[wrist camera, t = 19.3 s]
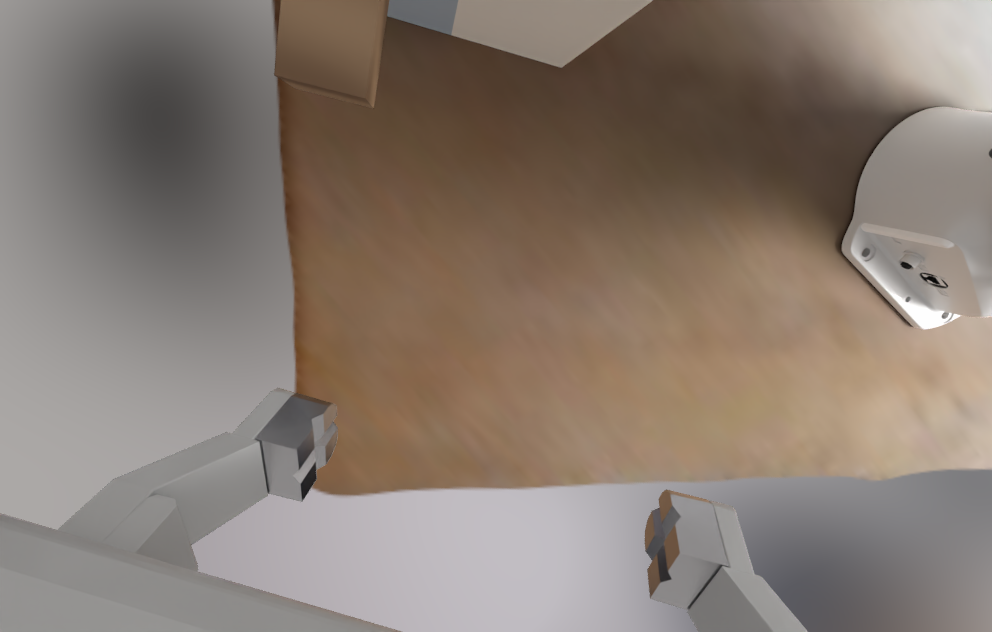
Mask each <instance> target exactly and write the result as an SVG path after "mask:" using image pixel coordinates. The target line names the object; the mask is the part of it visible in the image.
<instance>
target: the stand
mask: <svg viewBox="0 0 992 632" xmlns="http://www.w3.org/2000/svg"><path fill="white" fill-rule="evenodd" d="M651 1H653V0H389V6H388V13H387V16H388V17H391V18H395V19H398V20H402V21H405V22H408V23H412V24H415V25H418V26H422V27H425V28H429V29H432V30H435V31H439V32H442V33H445V34H449V35H452V36H456V37H459V38H462V39H466V40H469V41H472V42H476V43H479V44H483V45H486V46H489V47H493V48H496V49H499V50H503V51H506V52H510V53H513V54H516V55H520V56H523V57H526V58H530V59H533V60H536V61H540V62H543V63H547V64H550V65H553V66H557V67H560V68H562V67H563V66H565V65H566V64H567V63H569V62H570V61H572V60H573V59H574V58H576V57H577V56H578V55H580V54H581V53H582V52H584V51H585V50H586V49H588V48H589V47H591V46H592V45H593V44H595V43H596V42H597V41H599V40H600V39H601V38H603V37H604V36H605V35H607V34H608V33H609V32H611V31H612V30H614V29H615V28H616V27H618V26H619V25H620V24H622V23H623V22H624V21H626V20H627V19H628V18H630V17H631V16H633V15H634V14H635V13H637V12H638V11H639V10H641V9H642V8H643V7H645V6H646V5H647V4H649V3H650V2H651Z"/></svg>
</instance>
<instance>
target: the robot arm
mask: <svg viewBox="0 0 992 632" xmlns="http://www.w3.org/2000/svg"><path fill="white" fill-rule="evenodd" d="M842 252H843V254H844V255H845V256H846V257H847V259H848V260H849V261H850V262H851V263H852V264H853V265H854V266H855V267H856V268H857V269H858V270H859V271H860V272H861V273H862V274H863V275H864V276H865V277H866V278H867V279H868V280H869V281H870V283H871V284H872V285H873V286H874V287H875V288H876V289H877V290H878V291H879V292H880V293H881V294H882V295H883V296H884V297H885V298H886V299H887V300H888V301H889V302H890V303H891V304H892V306H893V307H894V308H895V309H896V310H897V311H898V312H899V313H900V314H901V315H902V316H903V317H904V318H905V319H906V320H907V321H908V322H909V323H910V324H911V325H912V326H913V327H915V328H919V329H931V328H935V327H938V326H941V325H944V324H946V323H948V322H950V321H952V320H954V319H956V318H958V317H960V316H961V315H962V316H967V317H975V318H985V317H992V112H982V111H972V110H965V109H959V108H954V107H934V108H929V109H925V110H923V111H920V112H918V113H915V114H913V115H912V116H910V117H908V118H906V119H905V120H903V121H902V122H901V123H899V124H898V125H897V126H896V127H894V128H893V129H892V130H891V131H890V132H889V133H888V134H887V135H886V136H885V137H884V138H883V140H882V141H881V142H880V143H879V145H878V146H877V147H876V149H875V150H874V152H873V153H872V155H871V156H870V158H869V160H868V162H867V164H866V166H865V168H864V170H863V173H862V175H861V178H860V181H859V185H858V189H857V194H856V201H855V209H854V215H853V219H852V221H851V223H850V225H849V228H848V230H847V232H846V234H845V236H844V239H843V242H842ZM862 252H863V253H862ZM336 416H337V405H335V404H333V403H330V402H326V401H323V400H319V399H316V398H313V397H309V396H306V395H302V394H299V393H294V392H291V391H287V390H284V389H280V388H277V389H275V390H273V391H271V392H270V393H269V394H268V395H267V396H266V397H265V398H264V400H263V401H262V402H261V403H260V404H259V405H258V406H257V407H256V408H255V409H254V410H253V411H252V412H251V414H250V415H249V416H248V417H247V418H246V419H245V420H244V421H243V422H242V423H241V424H240V425H239V426H238V428H237V429H236V430H235V431H234V432H233V433H228V432H225V433H223V434H221V435H218V436H216V437H213V438H211V439H209V440H207V441H204V442H201V443H199V444H197V445H194V446H192V447H189V448H187V449H185V450H182V451H180V452H177V453H175V454H173V455H171V456H168V457H165V458H163V459H161V460H158V461H156V462H153V463H151V464H149V465H146V466H144V467H141V468H140V469H137V470H135V471H132V472H129V473H127V474H125V475H122V476H120V477H117V478H115V479H113V480H112V481H111V482H110V483H108V484H107V485H106V486H105V487H104V488H103V489H102V490H101V491H100V492H98V493H97V495H95V496H94V497H93V498H92V499H91V500H90V501H89V502H88V503H86V504H85V505H84V506H83V507H82V508H81V509H80V510H79V511H78V512H76V513H75V514H74V515H73V516H72V517H71V518H70V519H69V520H68V521H67V522H65V523H64V524H63V525H62V526H61V527H60V528H59V529H58V530H55V529H52V528H49V527H45V526H42V525H38V524H35V523H32V522H28V521H25V520H22V519H18V518H15V517H11V516H8V515H5V514H1V513H0V632H401V631H398V630H395V629H391V628H388V627H384V626H381V625H377V624H374V623H371V622H367V621H363V620H361V619H357V618H354V617H350V616H347V615H343V614H340V613H337V612H334V611H330V610H326V609H323V608H320V607H316V606H313V605H310V604H306V603H303V602H300V601H296V600H293V599H289V598H286V597H282V596H279V595H276V594H272V593H269V592H266V591H262V590H259V589H255V588H252V587H249V586H245V585H242V584H239V583H235V582H231V581H228V580H225V579H222V578H218V577H214V576H211V575H208V574H205V573H201V572H198V565H197V561H196V558H195V556H194V553H193V549H192V547H191V545H192V544H194V543H195V542H197V541H198V540H200V539H202V538H203V537H205V536H206V535H208V534H209V533H211V532H212V531H214V530H216V529H217V528H219V527H220V526H222V525H223V524H225V523H226V522H228V521H229V520H231V519H233V518H234V517H236V516H237V515H239V514H240V513H242V512H243V511H245V510H246V509H248V508H249V507H251V506H253V505H254V504H256V503H257V502H259V501H260V500H262V499H263V498H265V497H267V496H268V493H269V494H273V495H277V496H281V497H285V498H289V499H293V500H297V501H301V502H302V501H303V500H304V498H305V497H306V495H307V494H308V492H309V490H310V489H311V487H312V486H313V484H314V483H315V481H316V480H317V476H316V470H317V469H319V468H320V467H322V466H324V465H326V464H327V462H328V460H329V459H330V457H331V456H332V453H333V451H334V448H335V446H336V442H337V437H338V428H337V426H336V425H335V424H334V422H333V420H334V419H335V418H336ZM659 506H660V508H658V509H655V510H653V511H652V512H651V514H650V516H649V518H648V521H647V525H646V530H645V549H646V552H647V554H648V555H649V557H650V558H651V560H652V563H651V564H650V566H649V568H648V569H647V572H648V582H649V592H650V599H653V600H656V601H660V602H663V603H666V604H669V605H673V606H676V607H679V608H682V609H686V610H688V612H687V613H688V614H689V616H690V618H691V620H692V621H693V623H694V625H695V627H696V628H697V630H698V632H808V631H807V630H806V629H805V628H804V627H803V625H802V624H801V623H800V622H799V621H798V620H797V618H796V617H795V616H794V615H793V613H792V612H791V611H790V610H789V609H788V608H787V606H786V605H785V604H784V603H783V602H782V601H781V600H780V598H779V597H778V596H777V595H776V593H775V592H774V591H773V590H772V589H771V587H770V586H769V585H768V584H767V583H766V582H765V580H764V579H763V578H762V577H761V576H758V575H755V574H754V571H753V568H752V564H751V561H750V558H749V554H748V551H747V548H746V544H745V541H744V538H743V534H742V531H741V528H740V525H739V521H738V518H737V514H736V511H735V509H734V508H733V507H732V506H728V505H725V504H721V503H717V502H713V501H708V500H706V499H702V498H698V497H694V496H690V495H686V494H682V493H678V492H674V491H670V490H665V491H664V492H662V494H661V496H660V498H659Z"/></svg>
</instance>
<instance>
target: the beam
mask: <svg viewBox="0 0 992 632" xmlns="http://www.w3.org/2000/svg"><path fill="white" fill-rule="evenodd" d="M388 6H389V0H281V5H280V16H279V28H278V39H277V50H276V61H275V73H274V75H275V76H276V77H278V78H280V79H281V80H283V81H284V82H286V83H287V84H289V85H291V86H292V87H294V88H295V89H298V90H302V91H306V92H310V93H314V94H318V95H322V96H326V97H330V98H334V99H338V100H342V101H346V102H350V103H353V104H357V105H361V106H365V107H369V108H373V109H374V104H375V97H376V90H377V83H378V76H379V69H380V62H381V55H382V48H383V41H384V34H385V27H386V20H387V13H388Z"/></svg>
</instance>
